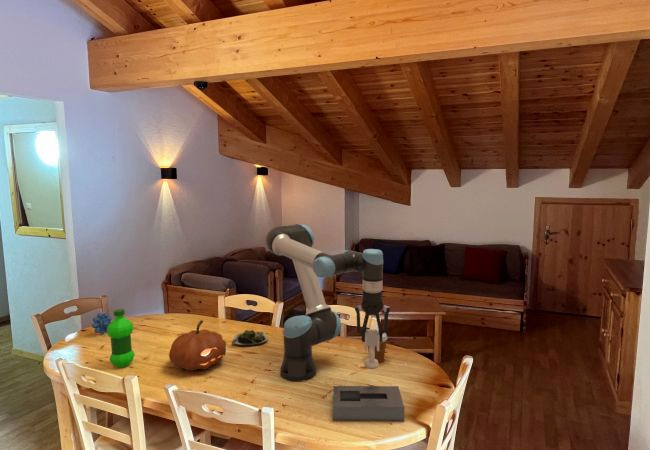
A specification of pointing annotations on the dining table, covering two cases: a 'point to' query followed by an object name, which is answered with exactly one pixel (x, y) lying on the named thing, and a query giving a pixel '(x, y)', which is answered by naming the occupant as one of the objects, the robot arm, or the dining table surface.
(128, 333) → the plastic bottle
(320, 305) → the robot arm
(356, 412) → the keyhole plate
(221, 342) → the pumpkin
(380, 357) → the disposable coffee cup
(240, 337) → the salad plate
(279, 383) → the dining table surface
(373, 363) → the headed peg
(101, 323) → the grapes
